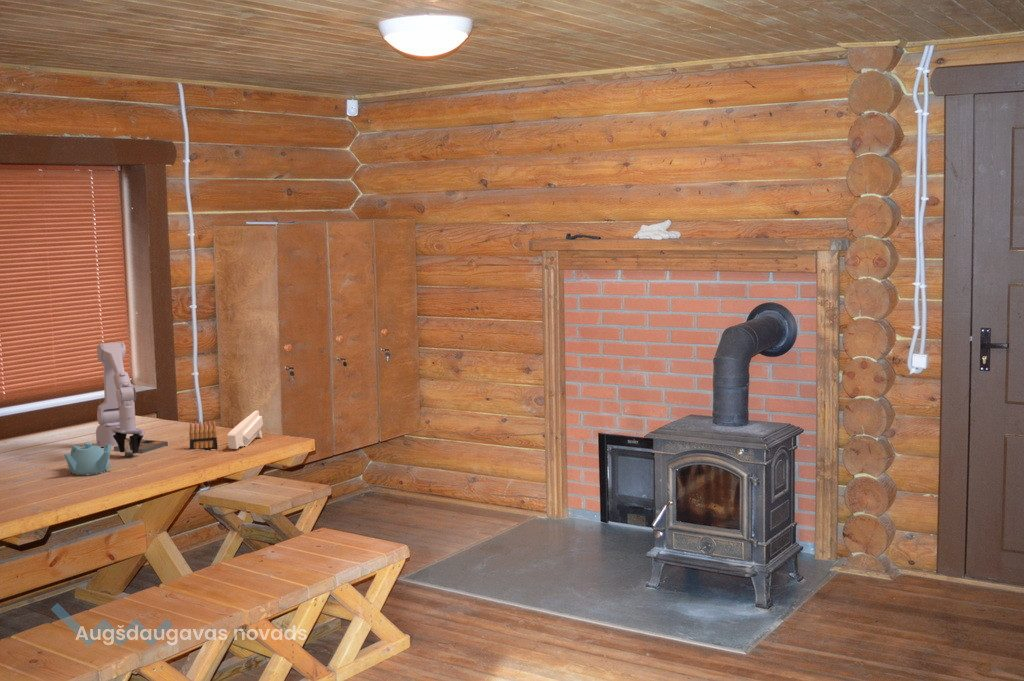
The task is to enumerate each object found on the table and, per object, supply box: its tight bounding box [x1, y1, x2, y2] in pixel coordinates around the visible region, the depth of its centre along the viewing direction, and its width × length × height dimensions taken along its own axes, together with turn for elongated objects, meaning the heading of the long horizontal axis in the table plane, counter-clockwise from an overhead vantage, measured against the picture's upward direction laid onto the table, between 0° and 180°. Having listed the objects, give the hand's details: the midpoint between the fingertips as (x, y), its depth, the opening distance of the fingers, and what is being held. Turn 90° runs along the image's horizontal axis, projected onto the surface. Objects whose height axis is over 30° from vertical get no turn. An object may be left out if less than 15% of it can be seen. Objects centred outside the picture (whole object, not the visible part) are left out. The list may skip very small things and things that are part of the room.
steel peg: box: [124, 437, 135, 457], centre depth 405 cm, size 3×3×7 cm
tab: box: [118, 454, 139, 459], centre depth 406 cm, size 6×5×1 cm
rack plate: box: [113, 438, 169, 454], centre depth 421 cm, size 14×15×3 cm
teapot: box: [63, 442, 112, 476], centre depth 386 cm, size 15×15×11 cm
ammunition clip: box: [189, 420, 218, 451], centre depth 419 cm, size 11×2×12 cm, turn 112°
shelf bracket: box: [226, 410, 264, 450], centre depth 430 cm, size 6×25×13 cm, turn 169°
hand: (129, 452), depth 405 cm, fingers open, 5 cm apart
